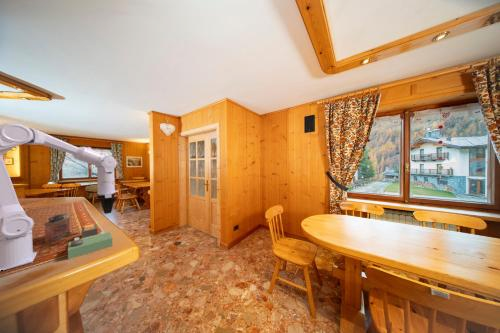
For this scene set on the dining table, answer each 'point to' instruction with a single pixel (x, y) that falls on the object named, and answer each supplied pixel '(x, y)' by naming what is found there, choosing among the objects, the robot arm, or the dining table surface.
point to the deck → (89, 244)
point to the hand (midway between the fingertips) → (107, 211)
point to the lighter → (57, 227)
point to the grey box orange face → (89, 230)
